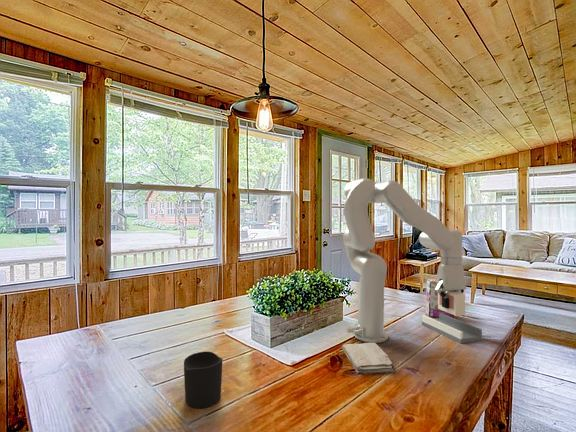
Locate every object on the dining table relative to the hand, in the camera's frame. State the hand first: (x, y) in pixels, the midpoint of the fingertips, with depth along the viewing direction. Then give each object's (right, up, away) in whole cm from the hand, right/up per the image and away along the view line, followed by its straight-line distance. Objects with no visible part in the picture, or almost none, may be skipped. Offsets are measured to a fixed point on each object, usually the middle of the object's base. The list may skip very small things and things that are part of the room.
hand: (451, 306), depth 129 cm
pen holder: (-86, -10, -47) cm, 98 cm away
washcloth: (-39, -11, -24) cm, 48 cm away
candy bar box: (+5, -10, +20) cm, 23 cm away
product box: (0, -2, 0) cm, 2 cm away
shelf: (0, -10, 0) cm, 10 cm away
